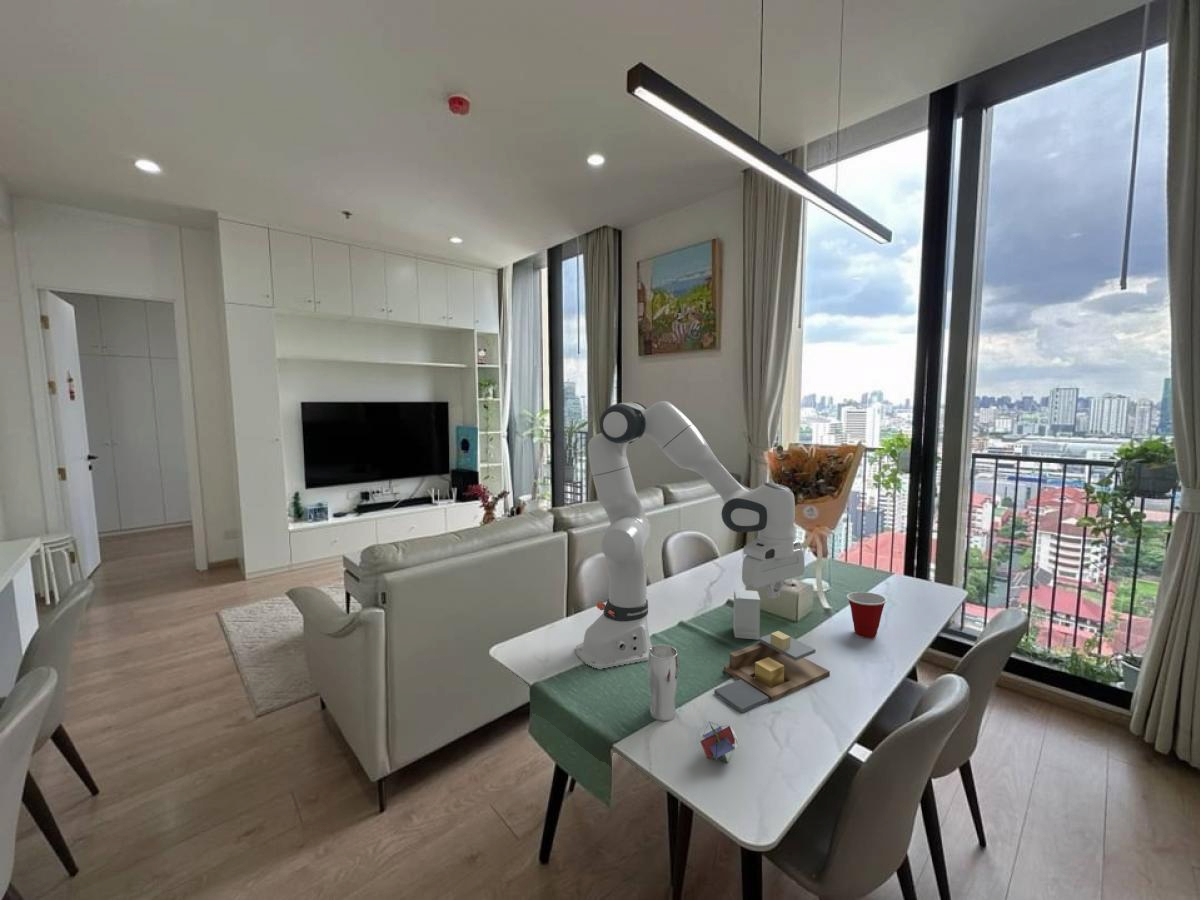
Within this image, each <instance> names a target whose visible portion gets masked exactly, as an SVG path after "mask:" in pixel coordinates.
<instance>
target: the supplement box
mask: <svg viewBox="0 0 1200 900" xmlns="http://www.w3.org/2000/svg"><path fill="white" fill-rule="evenodd" d="M732 619H733V620H732V623H733V624H732V625H733V626H732V630H733V634H734V638H736V639H743V640H744V639H746V640H747V639H749V640H758V641H759V638H760V631H761V630H760V626H761V625H760V623H761V598H760V594H759V592H758V591H757V590H749V589H748V590H745V589H734V590H733V618H732Z"/></svg>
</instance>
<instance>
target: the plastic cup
mask: <svg viewBox="0 0 1200 900" xmlns="http://www.w3.org/2000/svg"><path fill="white" fill-rule="evenodd" d="M846 599H848V603H849V606H850V611H851V617H852V618H851V619H852V623H853V630H854V633H855V635H857V636H859V637H861V638H864V639H875V638H876V637H877V634H878V629H879V628H880V623H881V619H882V614H883V610H884V607H885V604H886V603H887V598H886V597H885V596H883V595H882V594H881V595H880V594H879V593H874V592H867V591H854V592H850V593H847V594H846ZM874 637H875V638H874Z"/></svg>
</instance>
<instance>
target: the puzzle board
mask: <svg viewBox="0 0 1200 900" xmlns="http://www.w3.org/2000/svg"><path fill="white" fill-rule="evenodd" d="M768 657H769V658H771V659H773V660H775V661H776V662H778V663H780V664H782V665H784V683H783V684H780V685H778V686H776V687H773V688H769V687H767V686H766V685H764V684H763V683H761V682H759V681H758V680H756V679H755V662H757V661H760V660H762V659H765V658H768ZM728 663H729V664H726V665H724V666H723V671H724V672H725V673H726V674H729V675H730V676H732V677H733V678H735V679H736V680H737V681H738V680H740V679H741V680H743V681H744V682H746V683H747V684H749V685H750V686H752V687H754V688H755V689H757V690H758V691H760V692H761V693H763V694H764V695H766V696H768V697H769V702H774V701H777V700H778V699H780V698H783V697H786V696H787V695H790V694H792V693H794V692H797V691H798V690H800V689H803V688H805V687H807V686H809V685H812V684H815V683H816V682H818V681H821V680H822V679H825V678H827V677H829V676H830V674H831V673H830V672H831V671H830V670H829V669H827V668H824V667H823V666H821V665H819V664H817V663H815V662H813V661H811V660H810V659H807V658H806V657H804V658H802V659H799V660H797V661H794V660H792V659H791V658H789V657H787V656H785V655H783V654H781V653H779V652H777V651H776V650H774V649H772V648H770V647H768V646H766V645H764V644H763V643H761V642H758V643H755V644H752V645H749V646H746V647H742V648H741V649H738V650H734V651H733V652H729V662H728Z"/></svg>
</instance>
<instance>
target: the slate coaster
mask: <svg viewBox="0 0 1200 900" xmlns="http://www.w3.org/2000/svg"><path fill="white" fill-rule="evenodd" d="M713 694H714V695H715V696H717V697H718V698H720V699H721V700H722V701H724V702H725V703H727V704H728V705H729V706H731V707H732V708H734V709H735V710H737V712H739V713H741V714H743V713H745V712H747V711H750V710H752V709H754V708H757V707H758V706H759V707H760V706H762V705H764V704H765V703H768V702H770V700H769V697H768V696H766V695H764V694H763V693H761V692H760V691H758V690H757V689H755V688H754V687H752V686H750V685H749V684H747V683H746V682H744V681H743V680H741V679H740V680H738V679H737V680H735V681H733V682H729V683H727V684H726V685H723V686H720V687H717V688H715V689H714V693H713Z"/></svg>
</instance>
